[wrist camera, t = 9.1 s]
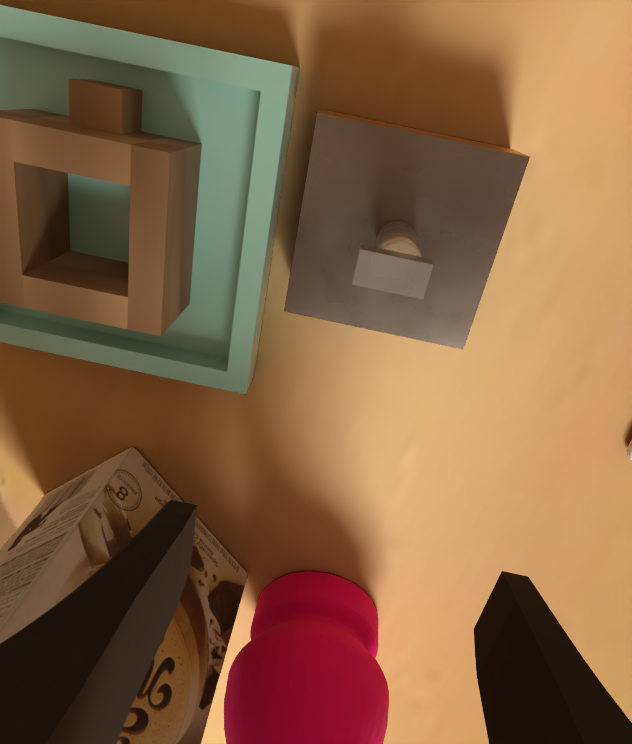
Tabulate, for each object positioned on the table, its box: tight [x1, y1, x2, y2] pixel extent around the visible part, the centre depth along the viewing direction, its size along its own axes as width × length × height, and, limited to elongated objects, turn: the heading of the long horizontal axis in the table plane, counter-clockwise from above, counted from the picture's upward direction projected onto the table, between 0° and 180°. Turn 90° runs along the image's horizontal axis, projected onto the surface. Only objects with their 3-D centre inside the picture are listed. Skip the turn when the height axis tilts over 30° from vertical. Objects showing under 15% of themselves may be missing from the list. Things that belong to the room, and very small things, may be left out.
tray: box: [0, 5, 300, 395], centre depth 19 cm, size 11×11×2 cm
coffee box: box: [0, 447, 247, 744], centre depth 20 cm, size 9×6×16 cm
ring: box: [0, 79, 202, 336], centre depth 17 cm, size 6×7×3 cm
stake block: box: [284, 110, 530, 349], centre depth 16 cm, size 6×6×6 cm
